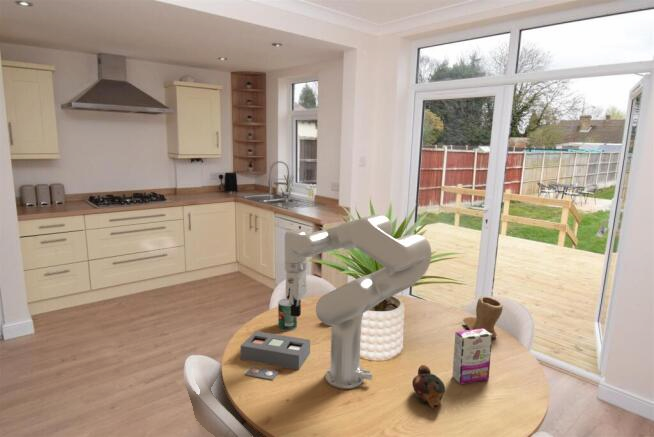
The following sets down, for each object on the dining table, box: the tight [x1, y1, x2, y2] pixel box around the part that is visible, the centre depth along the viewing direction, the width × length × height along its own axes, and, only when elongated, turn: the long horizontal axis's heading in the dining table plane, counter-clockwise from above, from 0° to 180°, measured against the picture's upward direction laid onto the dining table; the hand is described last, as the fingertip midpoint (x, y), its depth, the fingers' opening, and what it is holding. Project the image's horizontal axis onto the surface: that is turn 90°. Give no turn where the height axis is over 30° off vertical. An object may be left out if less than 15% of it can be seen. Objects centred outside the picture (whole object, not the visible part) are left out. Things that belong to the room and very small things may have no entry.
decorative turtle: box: [411, 364, 446, 410], centre depth 124 cm, size 10×15×8 cm, turn 8°
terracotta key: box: [253, 340, 264, 344], centre depth 149 cm, size 4×4×2 cm
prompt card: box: [244, 366, 280, 381], centre depth 136 cm, size 10×5×1 cm, turn 74°
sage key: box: [268, 339, 284, 347], centre depth 147 cm, size 4×4×2 cm
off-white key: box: [288, 345, 301, 350], centre depth 145 cm, size 4×4×2 cm
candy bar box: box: [452, 328, 493, 385], centre depth 134 cm, size 11×5×16 cm, turn 105°
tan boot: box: [463, 296, 503, 339], centre depth 169 cm, size 15×12×15 cm
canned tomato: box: [277, 298, 298, 332], centre depth 170 cm, size 8×8×11 cm
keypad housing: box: [240, 330, 311, 371], centre depth 147 cm, size 22×12×5 cm, turn 74°
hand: (295, 315), depth 144 cm, fingers closed
